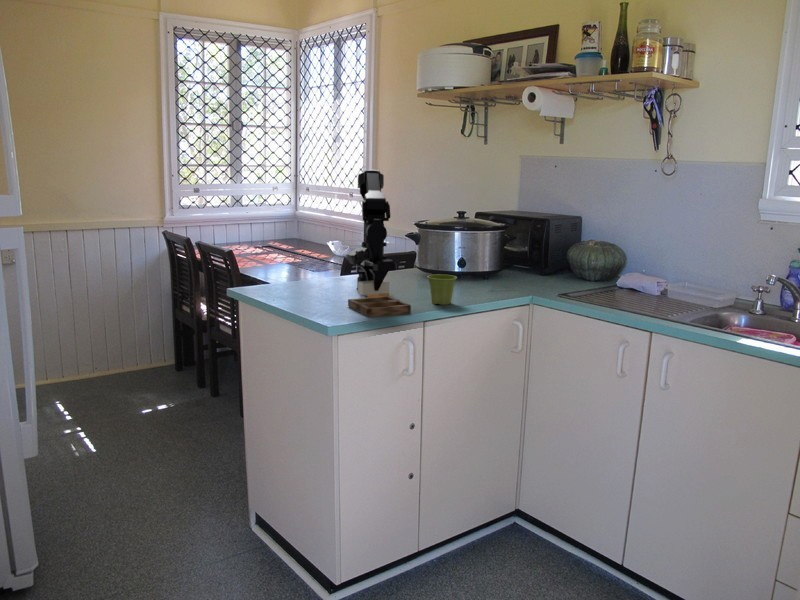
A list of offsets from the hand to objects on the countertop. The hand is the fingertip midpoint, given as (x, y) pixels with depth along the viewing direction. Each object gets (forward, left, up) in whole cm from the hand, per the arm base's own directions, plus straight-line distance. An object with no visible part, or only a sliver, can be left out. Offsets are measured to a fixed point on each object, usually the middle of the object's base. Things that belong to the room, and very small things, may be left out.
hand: (373, 289), depth 205 cm
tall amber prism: (-7, -10, -6) cm, 14 cm away
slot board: (0, +4, -6) cm, 7 cm away
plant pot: (-23, +3, -6) cm, 24 cm away
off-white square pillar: (0, 0, -1) cm, 1 cm away
